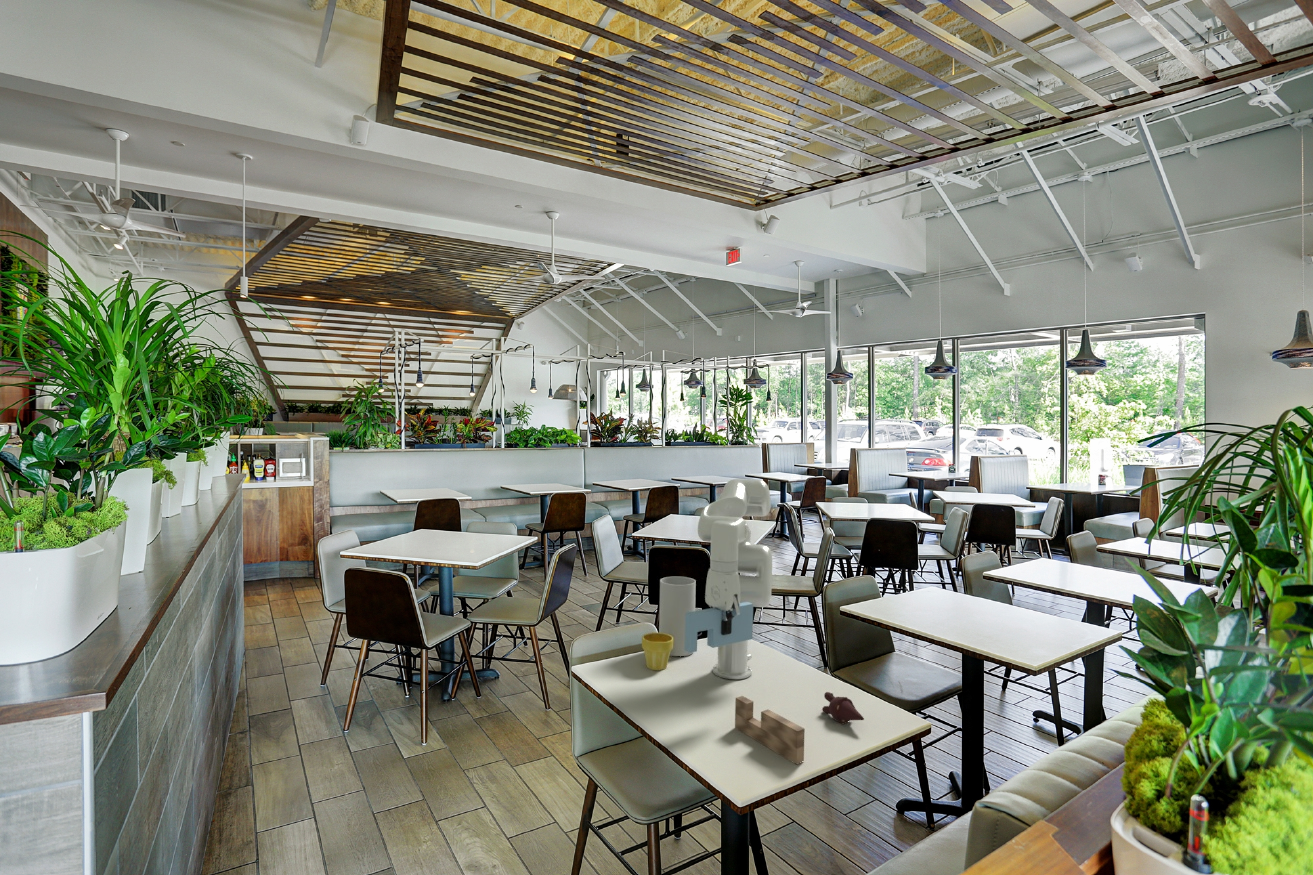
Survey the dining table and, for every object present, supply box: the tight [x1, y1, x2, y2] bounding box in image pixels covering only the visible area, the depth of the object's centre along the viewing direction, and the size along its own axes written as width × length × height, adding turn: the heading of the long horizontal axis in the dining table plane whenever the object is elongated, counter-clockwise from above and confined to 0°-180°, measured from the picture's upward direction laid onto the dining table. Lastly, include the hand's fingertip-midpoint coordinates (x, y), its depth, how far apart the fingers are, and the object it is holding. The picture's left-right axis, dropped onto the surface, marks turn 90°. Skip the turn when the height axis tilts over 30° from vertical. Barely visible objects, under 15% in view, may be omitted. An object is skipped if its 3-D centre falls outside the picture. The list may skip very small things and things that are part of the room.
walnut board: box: [734, 695, 805, 765], centre depth 163 cm, size 22×2×8 cm, turn 34°
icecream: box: [821, 691, 865, 724], centre depth 177 cm, size 7×7×15 cm
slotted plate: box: [685, 602, 754, 654], centre depth 178 cm, size 22×2×10 cm, turn 124°
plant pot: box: [641, 632, 673, 671], centre depth 214 cm, size 10×10×10 cm
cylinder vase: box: [658, 576, 697, 658], centre depth 228 cm, size 12×12×25 cm
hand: (722, 632), depth 179 cm, fingers closed on slotted plate, 2 cm apart
